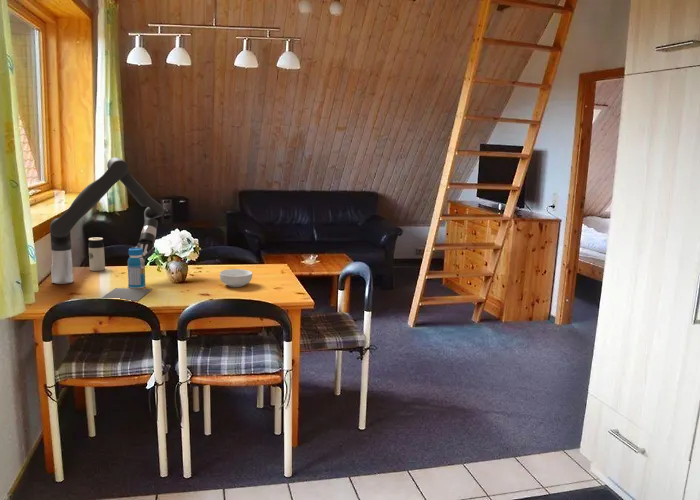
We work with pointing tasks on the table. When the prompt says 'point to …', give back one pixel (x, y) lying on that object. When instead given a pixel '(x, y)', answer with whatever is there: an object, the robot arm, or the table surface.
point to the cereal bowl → (236, 277)
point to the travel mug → (96, 254)
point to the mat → (127, 293)
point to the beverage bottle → (136, 269)
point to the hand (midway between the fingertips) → (141, 263)
